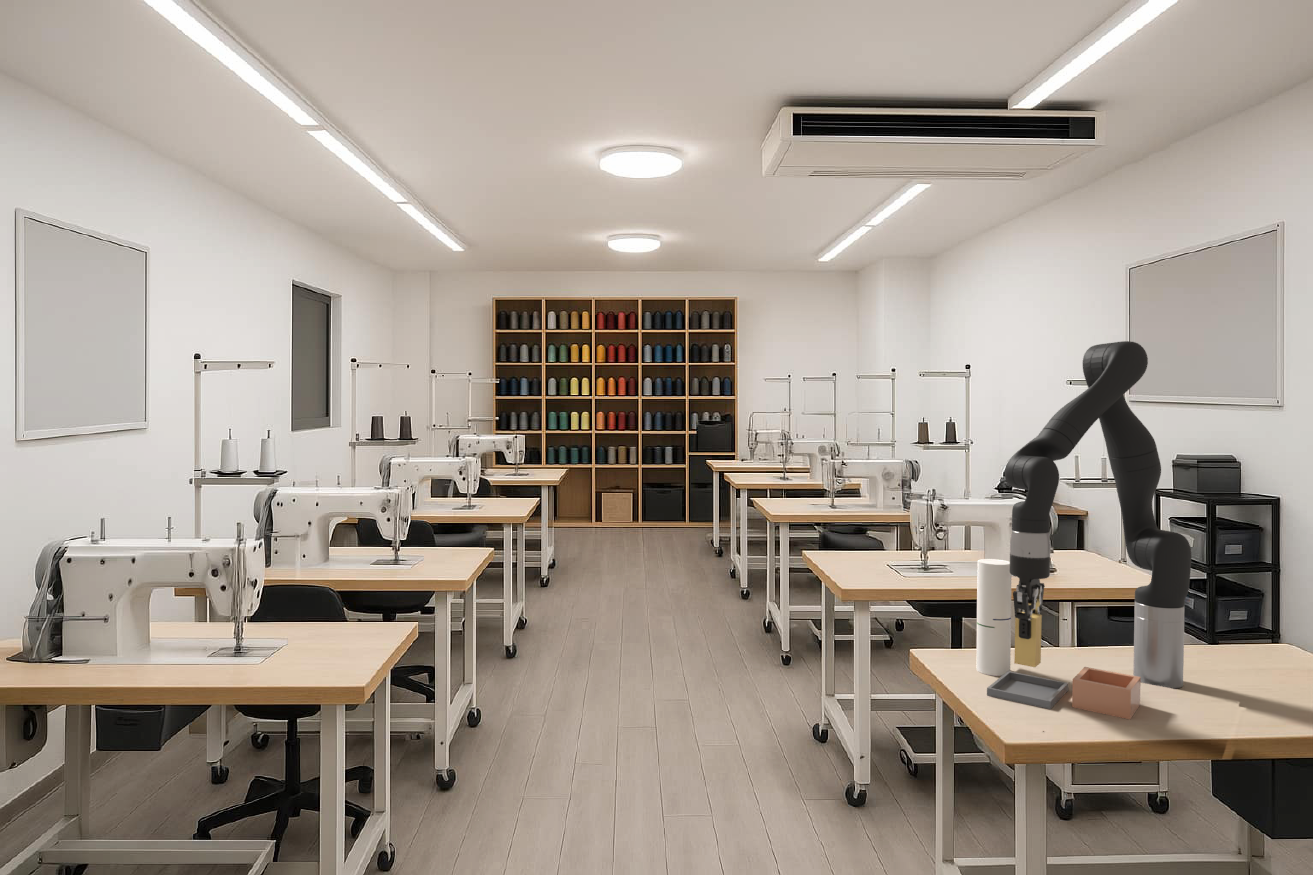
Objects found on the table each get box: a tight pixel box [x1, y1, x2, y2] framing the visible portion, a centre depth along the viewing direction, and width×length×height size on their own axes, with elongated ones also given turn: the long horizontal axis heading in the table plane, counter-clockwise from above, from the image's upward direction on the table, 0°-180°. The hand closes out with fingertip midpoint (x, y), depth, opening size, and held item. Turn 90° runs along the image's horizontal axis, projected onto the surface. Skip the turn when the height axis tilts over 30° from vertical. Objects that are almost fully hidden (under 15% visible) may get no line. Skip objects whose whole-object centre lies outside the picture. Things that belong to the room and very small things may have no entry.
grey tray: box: [986, 670, 1069, 710], centre depth 166 cm, size 14×12×2 cm
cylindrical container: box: [975, 558, 1013, 677], centre depth 183 cm, size 7×7×25 cm
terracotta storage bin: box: [1071, 666, 1142, 720], centre depth 159 cm, size 10×10×6 cm
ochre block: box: [1014, 611, 1043, 668], centre depth 166 cm, size 4×4×10 cm
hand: (1028, 635), depth 166 cm, fingers closed on ochre block, 4 cm apart
